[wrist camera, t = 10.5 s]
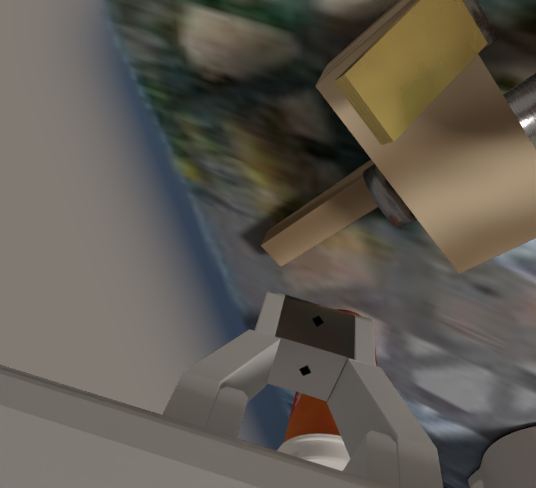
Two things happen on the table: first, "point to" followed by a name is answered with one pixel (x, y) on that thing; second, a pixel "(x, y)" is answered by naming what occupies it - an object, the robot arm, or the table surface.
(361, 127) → the block
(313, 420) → the paper cup
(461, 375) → the table surface
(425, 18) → the keeper
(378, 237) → the table surface
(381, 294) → the table surface
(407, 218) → the pin
